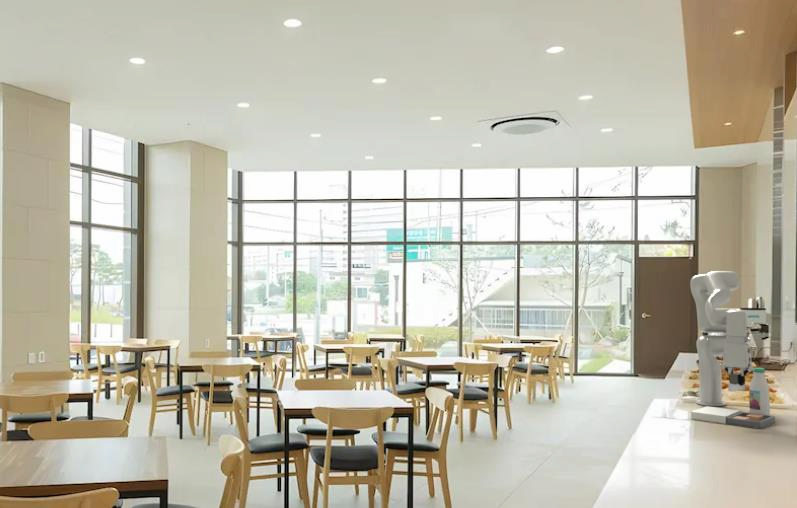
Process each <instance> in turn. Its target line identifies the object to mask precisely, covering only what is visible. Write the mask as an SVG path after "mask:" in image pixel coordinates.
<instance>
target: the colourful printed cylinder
mask: <svg viewBox="0 0 797 508" xmlns="http://www.w3.org/2000/svg"><path fill="white" fill-rule="evenodd" d="M753 368H754V370H753V371H752V374H753V376H752V378H751V381H750V383H749V387H748V389H749V391H748V392H749V394H748V397H749V399H748V401H749V405H748V406H749V413H754V414H762V415H770V416H771V413H770V412H771V409H770V408H771V406H770V405H771V404H770V403H771V402H770V400H771V399H770V387H769V383H768V381H767V379H766V378H765V374H766V370H765V368H764V367H753Z"/></svg>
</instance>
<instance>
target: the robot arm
mask: <svg viewBox="0 0 797 508" xmlns="http://www.w3.org/2000/svg"><path fill="white" fill-rule="evenodd" d="M689 282H690V283H689V284H690V291H691V295H692V297H693V300H694V302H695V307H696V318H697V326H698V329H699V331H700V332H701V333H706V334H707V333H709V334H713V333H714V335H701V336H699V337H698V338H697V340H696V345H695V346H696V350H697V357H698V377H699V378H698V379H699V380H698V381H699V382H698V383H699V385H698V387H699V391H698V392H699V399H696V400H695V403H696V404H697V405H700V406H705V407H706V406H709V407H723V406H726V405H727V403H726V401H724V400H723V398H724V393H723V389H722V388H723V386H722V385H723V384H722V383H723V382H722V370H724V371H725V372H726V373H727V374H728V382H729V384H732V383H730V373H734V371H735V369H739V372H740V377H739V382H740V384H739V385H740V386H742V385H744V384H745V385H746V376H747V374H748V373H750V372H753V370H754V368H755V367H754V366H753V364H752V351H751V347H750V344H749V343H748V342H751V338H749V337H748V336H747V335H748V334H747V312H746V311H744V310H742V309H741V308H736V307H731V308H730V307H720V308H719V306H722V305H725V304H727V303H728V302H729V301H730V300H731V298H732V292H733V291H737V289H739V287H740V284H741V283H740V282H741V281H740V277H739V275H738V273H737V272H735V271H732V270H713V271H710V272H707V273H704V274H703V273H702V274H697V275H694V276H692V277H691V279H690V281H689ZM715 333H716V334H717V335H716V334H715ZM718 334H722V335H718ZM716 357H722V361H721V362H719V360H718V359H717V358H716ZM734 368H735V369H734Z"/></svg>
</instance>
